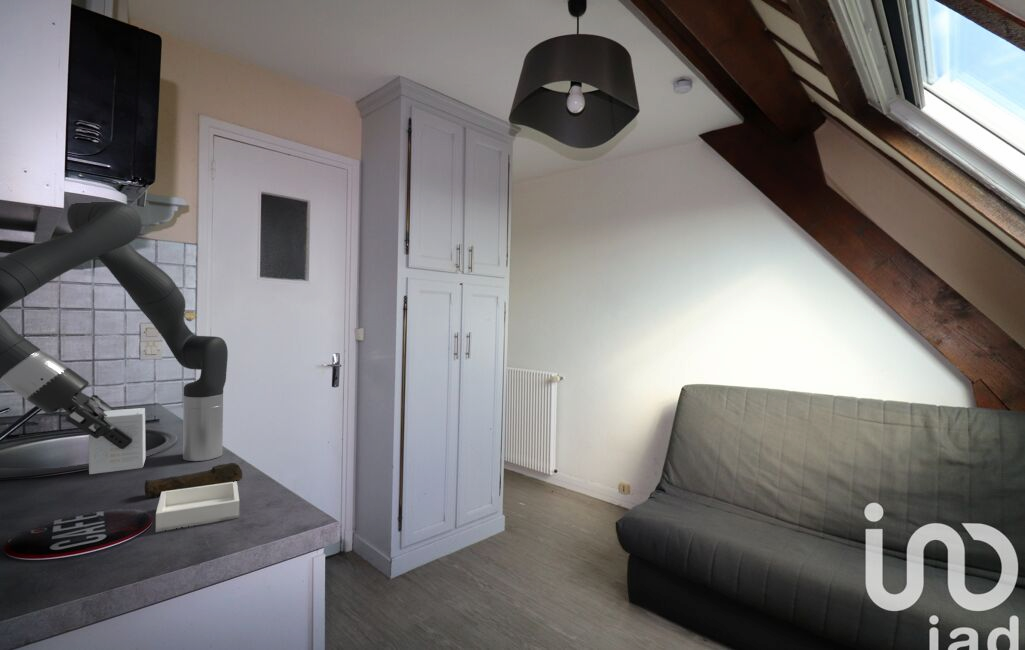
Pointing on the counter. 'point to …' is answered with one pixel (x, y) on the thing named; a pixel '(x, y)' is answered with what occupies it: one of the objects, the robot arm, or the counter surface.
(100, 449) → the small box
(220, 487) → the tray
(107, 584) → the counter surface
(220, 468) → the hand tool
